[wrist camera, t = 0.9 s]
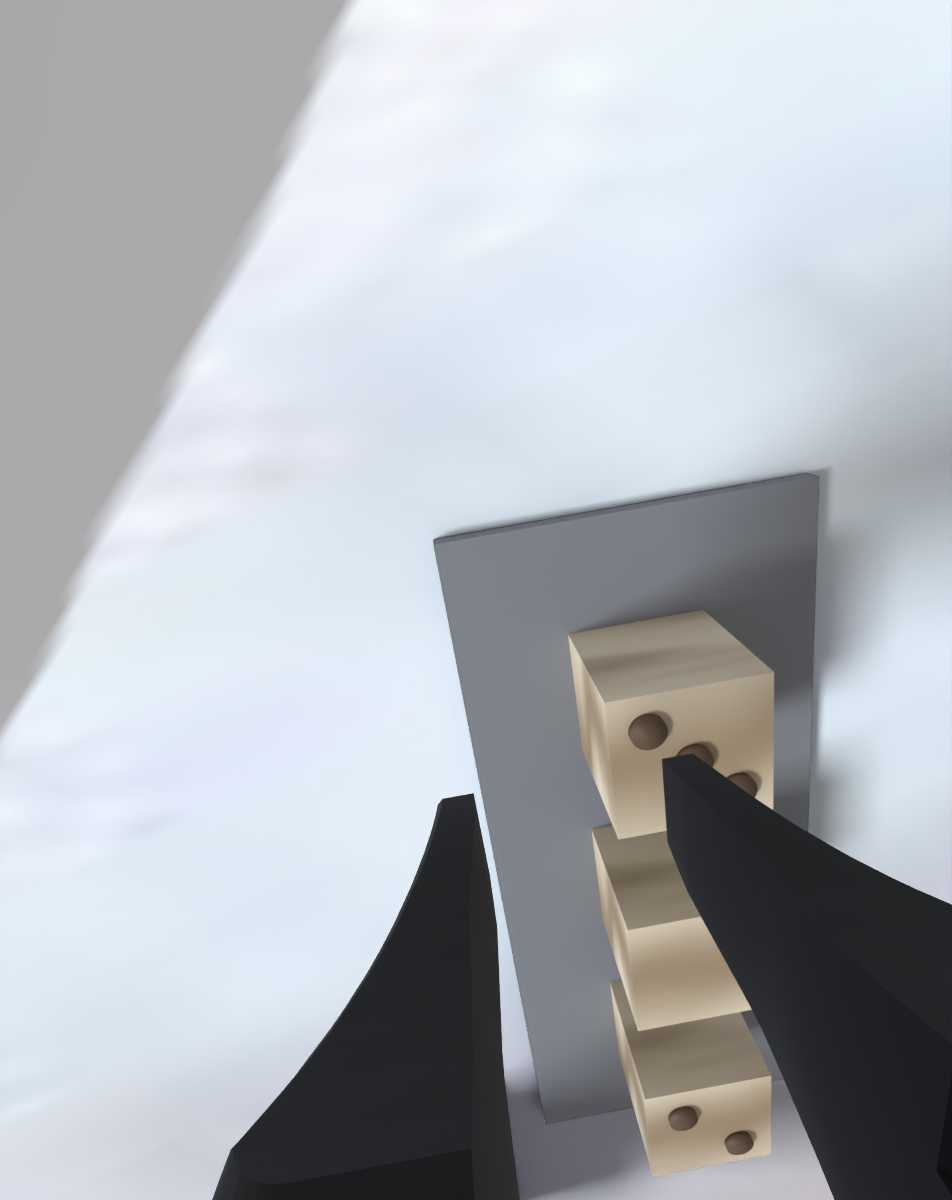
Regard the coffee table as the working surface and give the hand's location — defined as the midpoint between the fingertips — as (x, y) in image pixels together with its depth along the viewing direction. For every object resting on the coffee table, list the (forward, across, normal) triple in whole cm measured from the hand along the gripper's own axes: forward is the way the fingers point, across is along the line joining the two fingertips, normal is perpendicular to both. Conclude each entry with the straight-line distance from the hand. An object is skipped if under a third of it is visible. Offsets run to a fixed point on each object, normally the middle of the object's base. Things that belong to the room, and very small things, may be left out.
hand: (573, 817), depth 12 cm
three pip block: (+9, -4, +2) cm, 10 cm away
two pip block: (+9, -4, +18) cm, 21 cm away
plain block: (+9, -4, +10) cm, 14 cm away
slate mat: (+9, -4, +10) cm, 15 cm away
